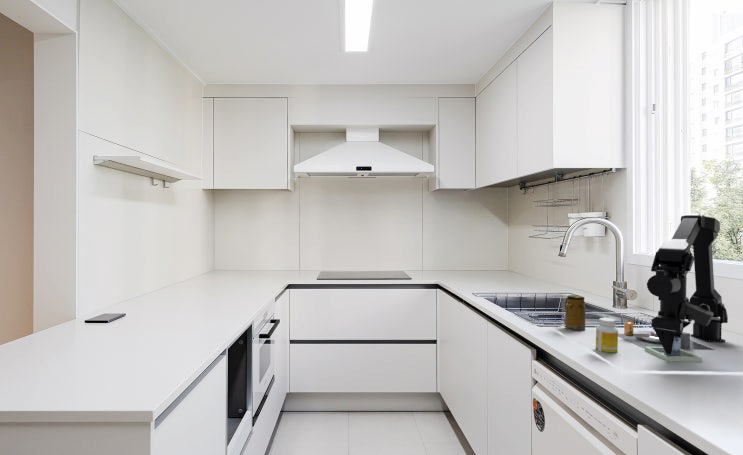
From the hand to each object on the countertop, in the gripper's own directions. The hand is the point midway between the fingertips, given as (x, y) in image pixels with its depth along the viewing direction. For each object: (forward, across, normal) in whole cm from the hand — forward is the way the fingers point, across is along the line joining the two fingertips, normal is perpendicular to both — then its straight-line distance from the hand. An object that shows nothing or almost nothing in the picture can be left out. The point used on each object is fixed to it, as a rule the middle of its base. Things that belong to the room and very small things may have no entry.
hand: (672, 350), depth 112 cm
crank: (+1, +14, +8) cm, 17 cm away
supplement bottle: (+2, -8, +14) cm, 16 cm away
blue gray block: (+2, 0, 0) cm, 2 cm away
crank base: (+2, +14, +5) cm, 16 cm away
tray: (+2, 0, 0) cm, 2 cm away
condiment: (+3, +10, +28) cm, 30 cm away
